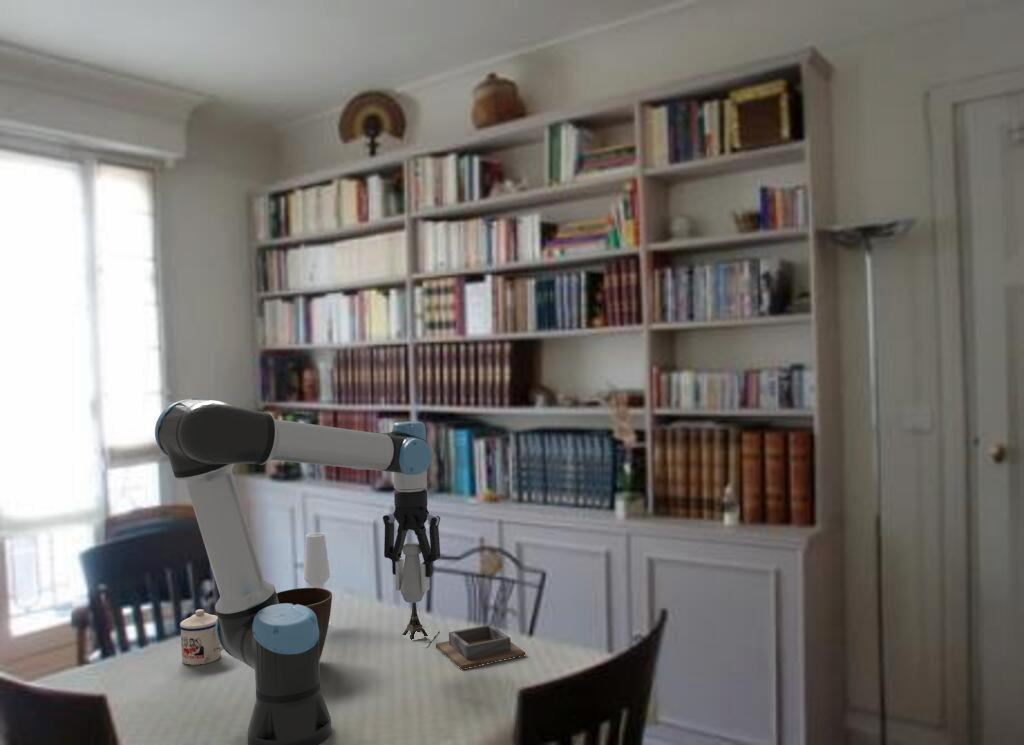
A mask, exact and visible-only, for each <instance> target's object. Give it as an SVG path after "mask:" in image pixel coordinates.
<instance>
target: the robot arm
mask: <svg viewBox="0 0 1024 745" xmlns="http://www.w3.org/2000/svg"><path fill="white" fill-rule="evenodd" d="M426 431H427V430H426V426H425V423H423V422H421V421H399V422H394V423H393V425H392V430H391V431H390V432H380V433H378V432H371V431H364V430H356V429H350V428H349V429H348V428H341V427H335V426H334V427H333V426H329V425H328V426H327V425H321V424H320V425H318V424H312V423H305V422H299V421H298V422H297V421H289V420H281V419H275V417H274V415H272V413H270V412H266V411H265V412H264V411H259V410H253V409H249V408H245V407H241V406H238V405H235V404H231V403H228V402H225V401H220V400H214V399H213V400H209V399H201V398H187V399H182V400H178V401H175V402H174V403H171V404H170V405H168V406H167V407H166V408H164V410H163V411H162V412H161V413H160V415H159V417H158V418H157V420H156V422H155V428H154V437H155V441H156V443H157V446H158V447H159V449H160V450H161V452H162V454H164V455H166V456H167V457H168V460H169V463H170V465H171V469H172V472H173V476H174V479H176V480H178V481H181V482H182V483H185V486H186V489H187V491H188V495H189V499H190V502H191V505H192V508H193V511H194V514H195V518H196V522H197V524H198V528H199V532H200V534H201V537H202V540H203V541H202V542H203V545H204V547H205V550H206V554H207V557H208V561H209V564H210V567H211V571H212V573H213V577H214V580H215V584H216V588H217V590H218V593H219V598H218V599H217V601H216V604H215V606H214V608H215V612H216V616H218V618H217V620H216V636H217V639H218V641H219V643H220V646H222V647H223V651H225V652H226V653H227V655H229V656H231V657H233V658H234V659H236V660H239V661H240V662H242V663H244V664H245V665H246V666H248V667H250V668H252V669H253V670H254V676H255V702H254V706H253V710H252V713H251V716H250V720H249V723H248V727H247V733H246V734H247V745H320V744H322V743H323V742H325V741H326V740H327V739H328V738H329V737H330V736H331V733H332V717H331V714H330V712H329V709H328V707H327V704H326V702H325V698H324V696H323V693H322V690H321V672H320V671H321V670H320V668H321V667H320V665H321V664H320V661H319V627H318V622H317V617H316V615H315V613H314V612H313V611H312V610H311V609H310V608H308V607H306V606H303V605H299V604H297V605H293V604H291V603H283V604H279V601H278V597H277V594H276V593H277V591H276V588H275V585H274V584H272V583H270V582H267V581H265V579H264V576H263V573H262V569H261V565H260V562H259V559H258V555H257V551H256V548H255V545H254V541H253V538H252V534H251V531H250V527H249V524H248V521H247V517H246V514H245V511H244V506H243V504H242V500H241V496H240V493H239V490H238V486H237V483H236V480H235V476H234V474H233V468H234V466H235V464H238V465H239V464H247V465H248V464H251V465H252V464H253V465H261V466H262V465H265V464H266V463H267V462H269V461H277V462H286V463H287V462H289V463H298V464H308V465H319V466H328V467H329V466H330V467H340V468H348V469H349V468H350V469H351V470H362V471H364V470H369V471H370V470H371V471H380V472H381V471H382V472H385V473H386V472H389V473H393V488H394V489H395V491H394V492H393V493H394V496H393V497H394V500H393V501H394V504H393V505H394V507H395V508H394V510H393V513H388V514H385V515H383V516H382V521H383V524H384V540H383V541H384V544H383V546H384V547H383V548H384V549H383V556H384V558H386V559H389V560H391V565H392V566H391V568H392V575H395V590H396V591H400V587H401V581H402V575H403V568H404V562H405V558H404V559H402V557H403V556H402V553H403V546H404V545H405V542H406V538H407V535H408V534H407V533H408V531H409V530H410V531H414V535H415V536H416V538H417V540H418V542H417V543H419V545H420V549H421V554H422V559H423V561H422V563H421V584H422V592H424V594H425V593H426V592H428V591H430V588H431V586H430V583H431V582H430V581H431V580H430V577H432V576H433V572H434V570H433V569H434V568H433V567H434V566H433V565H434V564H433V563H434V562H436V561H437V560H439V559H441V546H440V545H441V544H440V531H439V530H440V529H439V525H440V523H441V522H440V521H441V516H439V515H432V514H430V513H429V511H428V490H427V489H426V488H427V486H428V484H427V483H428V476H427V473H428V472H427V470H428V468H429V467H430V465H431V462H432V450H431V447H430V445H429V444H428V443H427V432H426ZM395 521H396V522H397V523H398V526H397V531H396V533H397V535H396V536H395ZM426 522H427V524H428V525H429V526H428V527H429V528H428V531H429V532H428V533H429V539H428V536H427V528H426V524H425V523H426ZM395 537H396V538H395Z"/></svg>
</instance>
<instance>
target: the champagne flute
mask: <svg viewBox="0 0 1024 745" xmlns="http://www.w3.org/2000/svg"><path fill="white" fill-rule="evenodd" d="M325 534H326V533H324V532H312V533H307V534H306V535H305V549H304V550H305V551H304V565H303V566H304V567H303V569H304V570H303V579H304V581H305V582H306V583H307V585H309V586H310V588H322V587H324V586H325V584H326V583H327V582H328V580H329V578H330V576H331V574H330V566H329V558H328V556H329V555H328V550H327V549H328V548H327V542H326V541H327V540H326V536H325ZM331 623H332V622H331V621H330V620H329V625H330V624H331ZM329 625H328V627H330V626H331V625H332V624H331V625H330V626H329Z"/></svg>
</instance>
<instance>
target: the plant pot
mask: <svg viewBox="0 0 1024 745" xmlns="http://www.w3.org/2000/svg"><path fill="white" fill-rule="evenodd" d="M276 594H277V597H278V601H279V604H283V603H291V604H293V605H297V604H299V605H303V606H306V607H308V608H310V609H311V610H312V611H313V612H314V613H315V615H316V617H317V622H318V627H319V662H320V660H321V658H322V654H323V650H324V647H325V643H326V639H327V635H328V629H329V626H328V625H329V621H330V618H331V611H332V600H333V592H332V591H331V590H329V589H327V588H326V589H325V588H322V587H321V588H313V587H300V588H292V589H286V590H282V591H279V592H276Z"/></svg>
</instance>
